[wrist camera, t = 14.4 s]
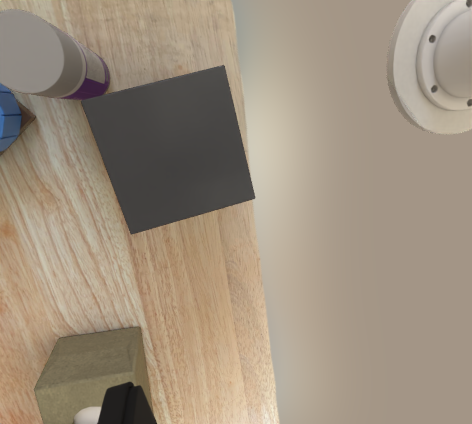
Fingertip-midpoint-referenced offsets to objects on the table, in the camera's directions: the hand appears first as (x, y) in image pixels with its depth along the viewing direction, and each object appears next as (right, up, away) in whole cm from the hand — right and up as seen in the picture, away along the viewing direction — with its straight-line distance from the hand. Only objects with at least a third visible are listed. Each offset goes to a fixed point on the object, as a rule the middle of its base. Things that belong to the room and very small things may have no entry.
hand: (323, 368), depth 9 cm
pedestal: (-9, +13, +28) cm, 32 cm away
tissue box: (-19, -19, +36) cm, 45 cm away
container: (-17, +18, +25) cm, 35 cm away
